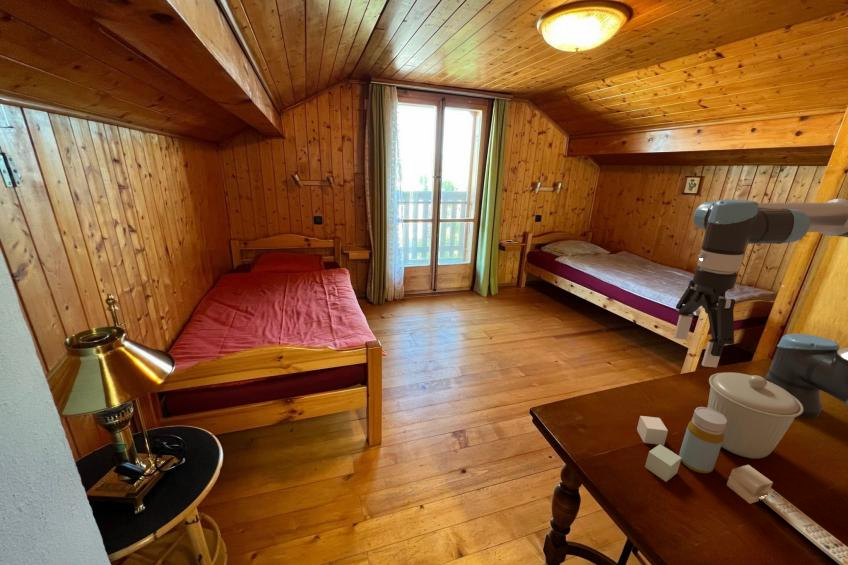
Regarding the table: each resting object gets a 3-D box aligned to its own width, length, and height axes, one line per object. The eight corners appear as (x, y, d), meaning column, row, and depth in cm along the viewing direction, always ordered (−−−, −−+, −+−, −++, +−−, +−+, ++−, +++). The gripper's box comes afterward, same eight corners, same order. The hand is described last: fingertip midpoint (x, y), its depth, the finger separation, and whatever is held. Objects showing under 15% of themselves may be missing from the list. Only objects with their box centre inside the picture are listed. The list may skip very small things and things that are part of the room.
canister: (707, 458, 90) (730, 390, 84) (685, 414, 106) (703, 353, 100) (797, 479, 84) (830, 407, 78) (759, 428, 101) (783, 365, 94)
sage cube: (655, 459, 90) (660, 444, 89) (676, 473, 86) (681, 457, 85) (644, 467, 88) (649, 451, 86) (665, 482, 84) (670, 466, 82)
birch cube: (742, 480, 84) (748, 464, 83) (765, 498, 80) (773, 482, 78) (726, 485, 83) (732, 469, 81) (749, 504, 78) (756, 487, 77)
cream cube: (655, 432, 99) (659, 417, 98) (663, 445, 95) (668, 430, 93) (636, 430, 100) (640, 415, 99) (643, 443, 96) (647, 428, 94)
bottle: (718, 477, 85) (736, 427, 80) (686, 472, 86) (702, 423, 81) (703, 455, 91) (718, 407, 87) (673, 450, 93) (687, 404, 88)
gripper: (672, 255, 92) (655, 327, 99) (732, 286, 69) (704, 378, 76) (705, 256, 91) (685, 330, 97) (776, 288, 67) (743, 382, 74)
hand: (693, 351), depth 87 cm, fingers open, 13 cm apart
